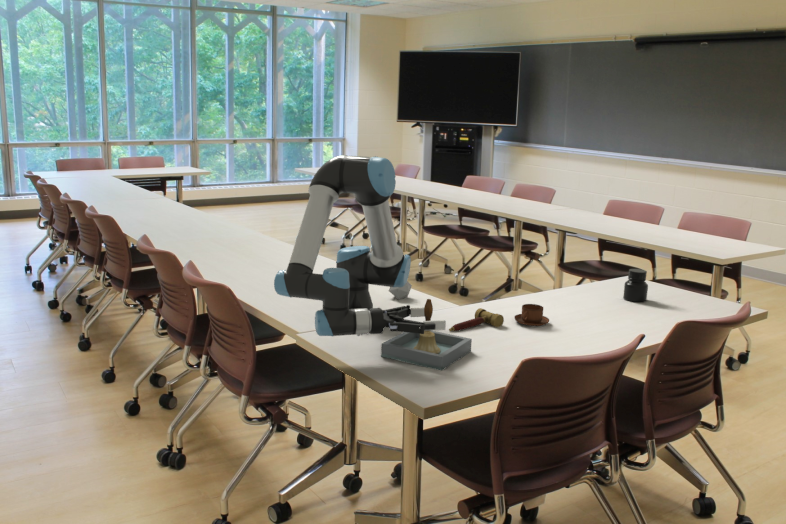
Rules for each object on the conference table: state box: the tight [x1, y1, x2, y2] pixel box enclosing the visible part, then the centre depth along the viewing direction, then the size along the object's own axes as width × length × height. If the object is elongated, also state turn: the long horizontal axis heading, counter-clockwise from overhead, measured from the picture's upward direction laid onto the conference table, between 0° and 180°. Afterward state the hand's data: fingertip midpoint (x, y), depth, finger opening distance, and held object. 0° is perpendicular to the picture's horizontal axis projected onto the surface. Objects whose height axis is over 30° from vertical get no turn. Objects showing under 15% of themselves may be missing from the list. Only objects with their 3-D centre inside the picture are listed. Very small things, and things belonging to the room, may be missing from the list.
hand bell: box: [413, 298, 441, 354], centre depth 211 cm, size 8×8×16 cm
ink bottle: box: [622, 268, 649, 303], centre depth 282 cm, size 10×9×12 cm
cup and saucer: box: [514, 303, 550, 327], centre depth 247 cm, size 12×12×6 cm
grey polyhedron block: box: [388, 280, 413, 300], centre depth 274 cm, size 8×9×10 cm
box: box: [380, 330, 472, 372], centre depth 213 cm, size 20×20×4 cm
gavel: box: [448, 307, 505, 332], centre depth 241 cm, size 21×5×10 cm
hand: (438, 318), depth 211 cm, fingers open, 13 cm apart
